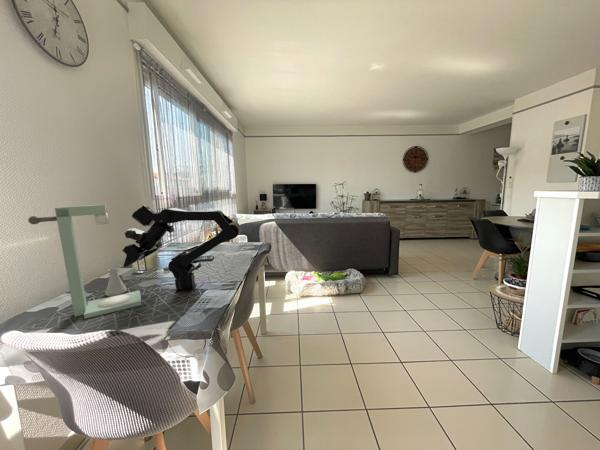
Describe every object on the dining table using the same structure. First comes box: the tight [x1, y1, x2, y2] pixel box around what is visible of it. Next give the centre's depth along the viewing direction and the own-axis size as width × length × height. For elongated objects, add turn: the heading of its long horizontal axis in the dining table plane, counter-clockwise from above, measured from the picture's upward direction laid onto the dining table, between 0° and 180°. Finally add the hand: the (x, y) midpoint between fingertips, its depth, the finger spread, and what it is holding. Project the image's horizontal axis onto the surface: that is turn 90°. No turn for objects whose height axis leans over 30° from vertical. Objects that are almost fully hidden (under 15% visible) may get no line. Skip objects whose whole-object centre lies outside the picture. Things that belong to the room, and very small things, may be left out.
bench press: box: [27, 204, 142, 320], centre depth 87 cm, size 26×12×36 cm, turn 124°
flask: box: [104, 268, 128, 297], centre depth 104 cm, size 7×7×10 cm
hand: (131, 263), depth 103 cm, fingers open, 9 cm apart
